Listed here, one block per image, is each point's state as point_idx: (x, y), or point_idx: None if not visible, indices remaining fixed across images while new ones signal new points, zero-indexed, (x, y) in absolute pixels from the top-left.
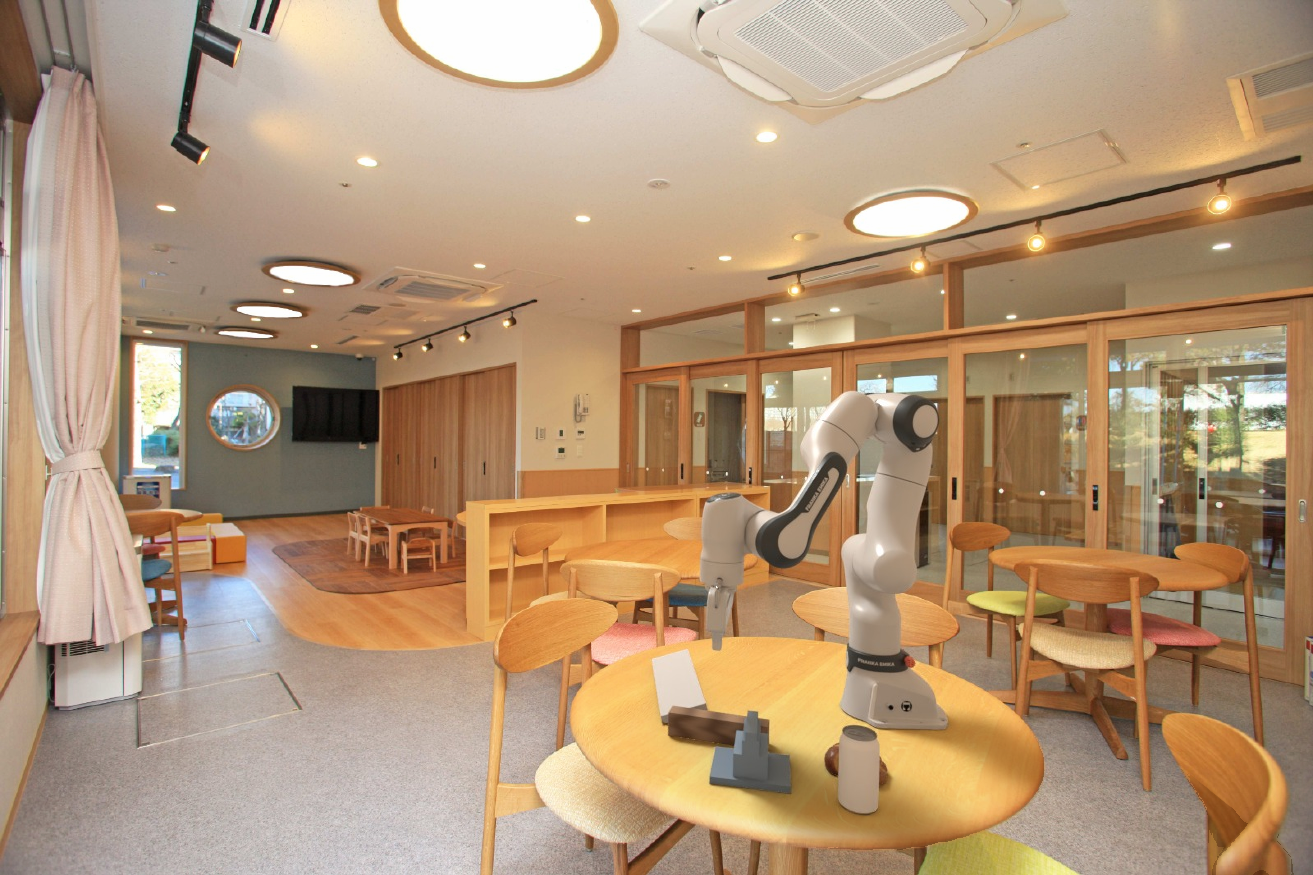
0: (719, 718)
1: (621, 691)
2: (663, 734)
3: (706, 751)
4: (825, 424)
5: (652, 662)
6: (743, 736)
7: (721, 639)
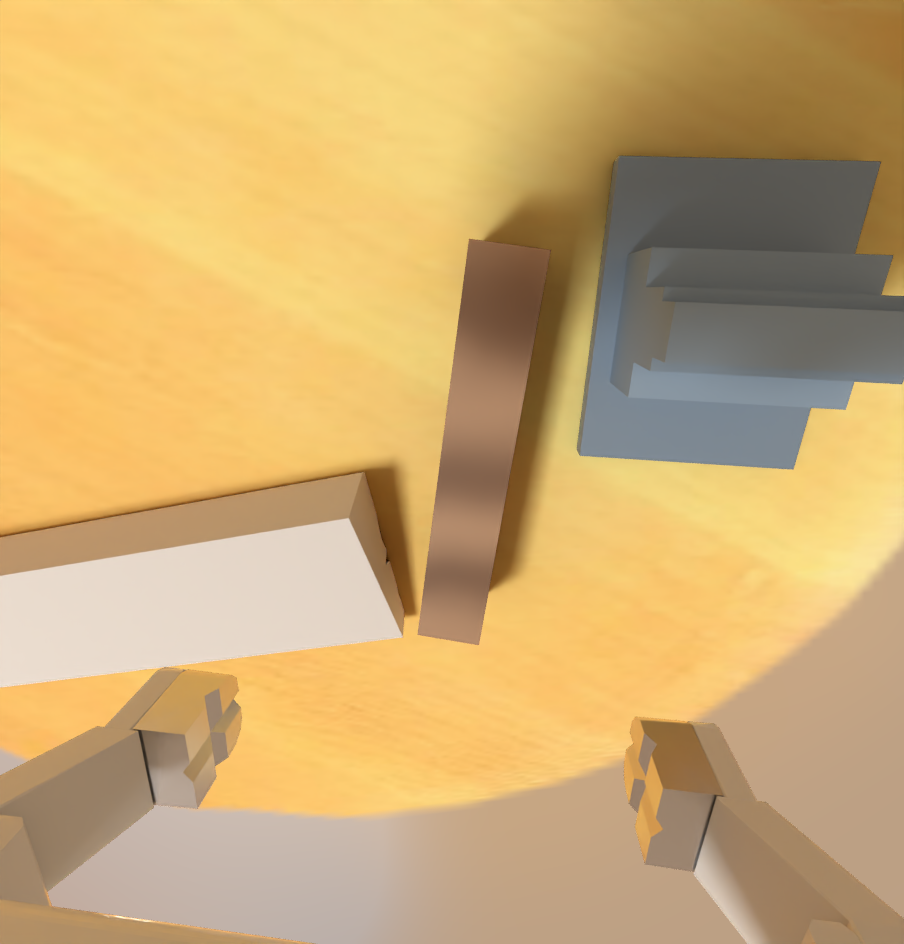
0: (497, 465)
1: None
2: None
3: (570, 477)
4: None
5: None
6: (860, 377)
7: (806, 841)
